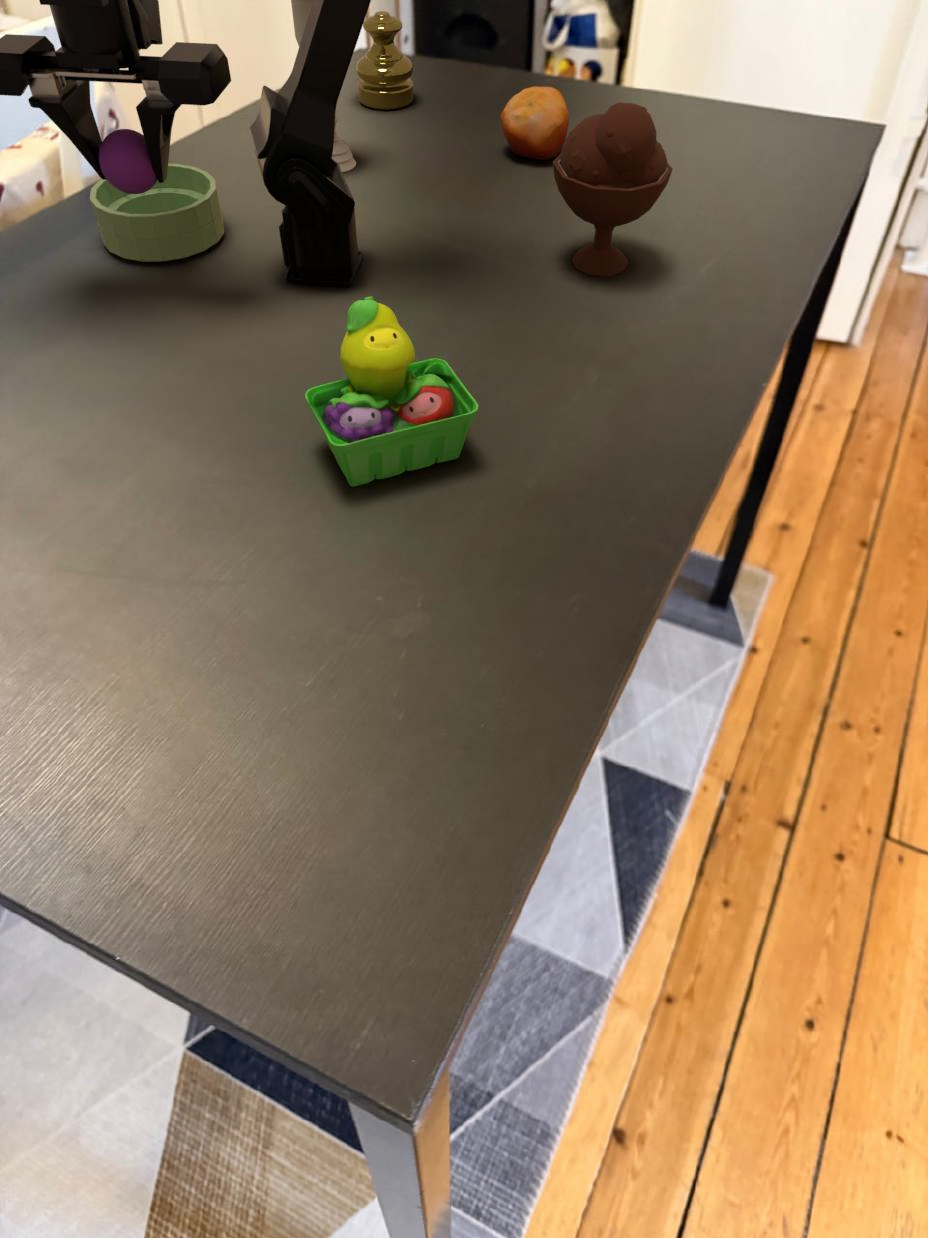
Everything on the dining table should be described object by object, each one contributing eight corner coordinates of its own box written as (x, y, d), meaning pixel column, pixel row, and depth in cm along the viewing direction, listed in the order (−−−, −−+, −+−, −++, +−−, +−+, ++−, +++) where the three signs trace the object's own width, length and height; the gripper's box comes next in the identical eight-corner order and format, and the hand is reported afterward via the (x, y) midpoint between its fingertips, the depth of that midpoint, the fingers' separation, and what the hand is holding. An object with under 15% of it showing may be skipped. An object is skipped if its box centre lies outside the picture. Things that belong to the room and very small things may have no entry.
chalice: (353, 179, 102) (339, -7, 89) (297, 173, 103) (274, -12, 89) (370, 154, 107) (359, -27, 93) (316, 148, 108) (297, -31, 94)
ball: (174, 181, 80) (160, 120, 76) (155, 205, 77) (140, 144, 73) (120, 178, 80) (104, 118, 76) (99, 202, 77) (81, 140, 73)
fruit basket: (340, 503, 65) (323, 369, 57) (305, 434, 71) (285, 303, 62) (481, 464, 68) (485, 333, 60) (437, 402, 74) (435, 272, 65)
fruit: (587, 131, 108) (577, 79, 101) (557, 185, 108) (545, 136, 100) (529, 117, 111) (516, 65, 104) (500, 170, 110) (484, 121, 103)
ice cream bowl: (666, 249, 92) (696, 88, 81) (633, 299, 85) (660, 132, 74) (569, 228, 95) (585, 70, 83) (530, 275, 88) (542, 110, 77)
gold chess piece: (352, 108, 116) (345, 19, 109) (365, 88, 121) (360, 2, 114) (407, 112, 116) (404, 23, 108) (418, 92, 121) (416, 6, 113)
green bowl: (240, 215, 96) (231, 167, 92) (202, 271, 88) (191, 220, 84) (132, 207, 97) (119, 159, 93) (84, 261, 89) (68, 211, 85)
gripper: (231, -60, 71) (262, 148, 82) (5, -69, 72) (68, 137, 84) (187, -22, 63) (229, 200, 75) (-63, -32, 64) (17, 188, 76)
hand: (134, 179), depth 78 cm, fingers closed on ball, 5 cm apart
